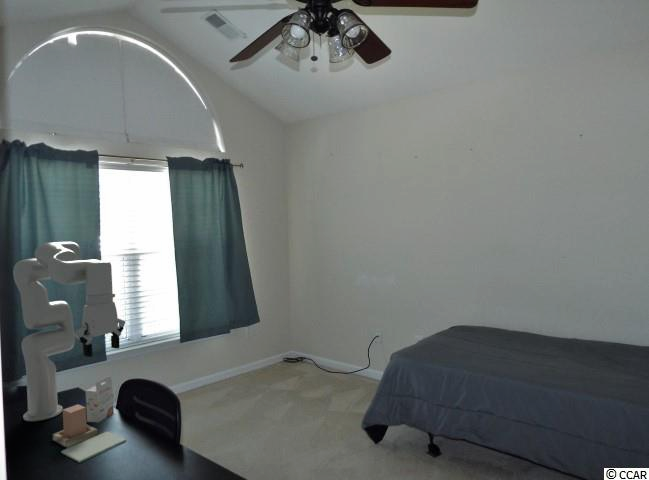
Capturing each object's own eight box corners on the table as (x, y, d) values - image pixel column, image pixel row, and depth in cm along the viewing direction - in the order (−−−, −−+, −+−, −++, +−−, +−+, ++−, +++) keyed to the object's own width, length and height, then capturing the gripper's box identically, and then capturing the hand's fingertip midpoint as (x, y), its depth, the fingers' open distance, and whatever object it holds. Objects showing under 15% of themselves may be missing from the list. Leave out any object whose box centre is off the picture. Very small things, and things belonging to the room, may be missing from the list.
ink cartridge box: (102, 412, 165) (101, 374, 164) (114, 412, 164) (112, 374, 163) (86, 422, 156) (84, 382, 156) (98, 423, 156) (96, 383, 155)
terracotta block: (64, 438, 144) (62, 409, 144) (79, 432, 148) (77, 404, 148) (71, 442, 142) (70, 412, 141) (86, 436, 146) (85, 407, 145)
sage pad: (61, 452, 135) (61, 450, 135) (107, 432, 148) (107, 431, 148) (79, 462, 129) (79, 460, 129) (126, 441, 142) (126, 439, 142)
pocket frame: (52, 440, 144) (52, 434, 144) (82, 428, 152) (82, 422, 152) (67, 447, 138) (67, 441, 138) (97, 434, 146) (97, 429, 146)
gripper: (115, 294, 147) (117, 344, 148) (66, 303, 132) (68, 358, 132) (130, 295, 144) (132, 346, 145) (81, 304, 129) (84, 361, 129)
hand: (102, 352), depth 139 cm, fingers open, 9 cm apart
